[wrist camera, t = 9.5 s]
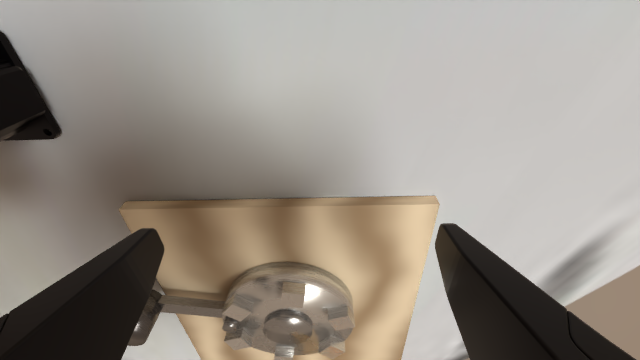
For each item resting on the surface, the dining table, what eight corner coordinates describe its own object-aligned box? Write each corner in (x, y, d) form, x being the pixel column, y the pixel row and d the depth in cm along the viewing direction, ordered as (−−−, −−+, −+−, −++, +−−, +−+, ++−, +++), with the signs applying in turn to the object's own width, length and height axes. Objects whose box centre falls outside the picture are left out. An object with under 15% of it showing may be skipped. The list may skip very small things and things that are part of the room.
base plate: (156, 352, 36) (148, 369, 35) (49, 202, 23) (27, 219, 21) (398, 352, 35) (402, 370, 34) (435, 195, 22) (444, 213, 20)
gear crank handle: (365, 270, 25) (371, 318, 22) (340, 340, 32) (342, 386, 28) (121, 243, 24) (84, 290, 20) (148, 322, 31) (124, 368, 27)
